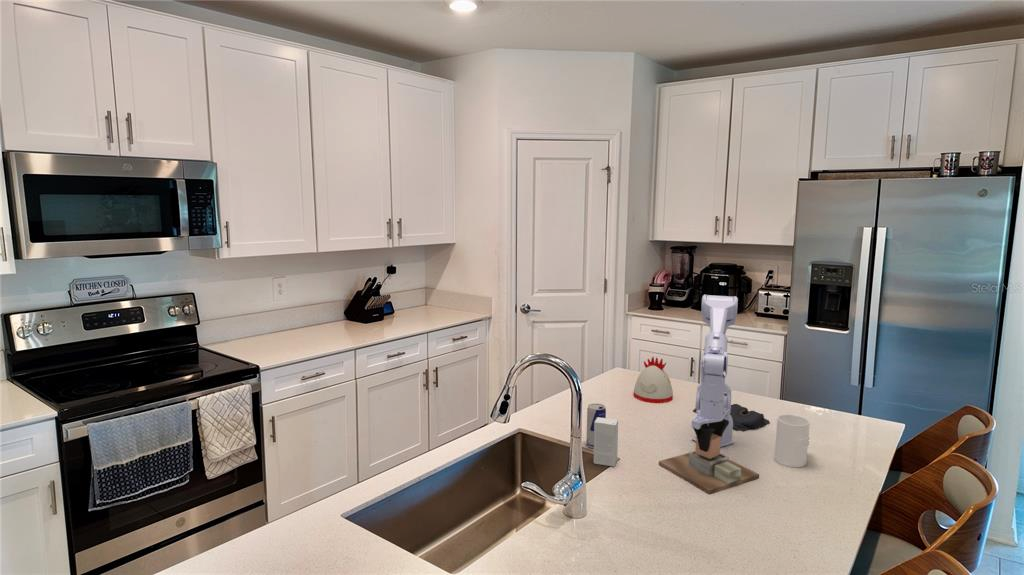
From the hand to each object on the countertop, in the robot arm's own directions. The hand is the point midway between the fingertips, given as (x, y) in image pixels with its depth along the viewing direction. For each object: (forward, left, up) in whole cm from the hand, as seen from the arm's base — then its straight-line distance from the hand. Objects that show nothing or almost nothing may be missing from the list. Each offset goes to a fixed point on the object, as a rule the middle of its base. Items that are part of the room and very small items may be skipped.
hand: (709, 447), depth 155 cm
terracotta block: (0, 0, -2) cm, 2 cm away
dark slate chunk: (-36, -24, -7) cm, 44 cm away
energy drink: (+17, -27, -7) cm, 33 cm away
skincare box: (+21, -17, -7) cm, 28 cm away
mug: (-27, +6, -7) cm, 29 cm away
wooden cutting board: (0, 0, -7) cm, 7 cm away
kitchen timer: (-27, -52, -7) cm, 59 cm away
